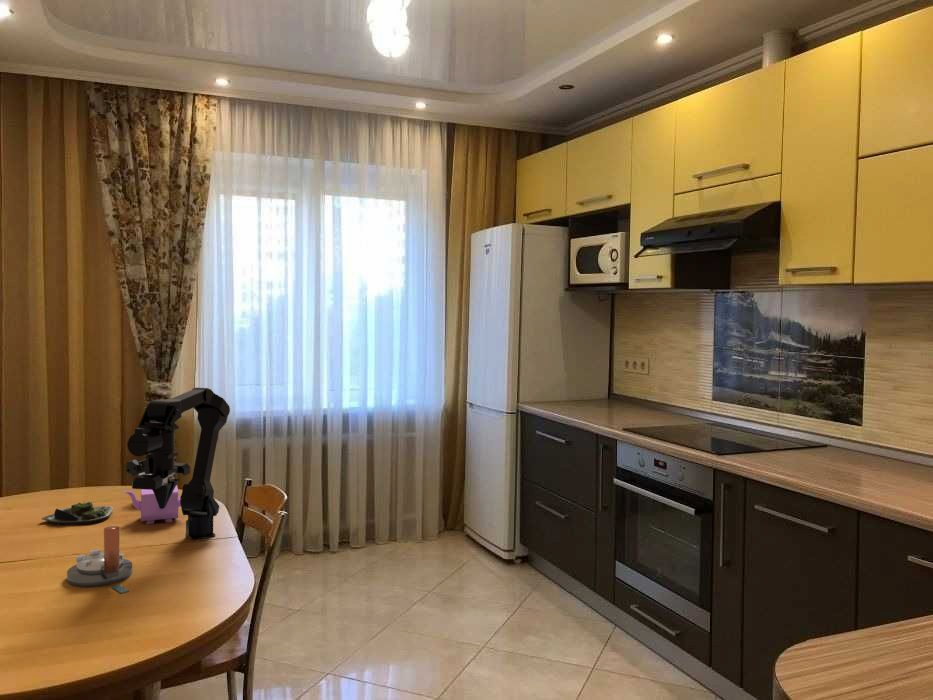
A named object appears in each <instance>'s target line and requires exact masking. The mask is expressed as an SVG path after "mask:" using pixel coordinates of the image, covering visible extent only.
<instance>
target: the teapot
mask: <svg viewBox="0 0 933 700" xmlns="http://www.w3.org/2000/svg"><path fill="white" fill-rule="evenodd" d="M123 493H125V494H127V495H128V496H129V497H130V499H131V502H132V504H133V506H134V508H135V509H136V510H138V511H140V521H141V522H146V523H145V524H146V525H153V524H154V523H155V521H157V520H164V521H165V523H172V522H174V520H173V519H178V518H179V508H181V505H180V497H179V489H178V485H176V487H175V489H174V490H173V492H172V494H171V496H170V498H169V500H168V502H167V505H166V507H165V508H163V509H160V508H159V505H158V503H157V500H156V497H155V494H154V492H153V490H147V489H140V500H139V499H138V498H137V496H136V494H135V493H134V492H133V491H131V490H125V491H123Z"/></svg>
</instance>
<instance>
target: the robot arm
mask: <svg viewBox="0 0 933 700" xmlns="http://www.w3.org/2000/svg"><path fill="white" fill-rule="evenodd" d="M191 409H194V410H195V412H197V422H198V424H199V426H200V434H199V439H198V445H197V450H196V456H195V460H194V467H193V471H192V475H191V479H190V480H189V481H188V483H184V484H182V485H183V486H182V489H181V495H180V497H179V498H180V505H181V506H180V508H181V512H182V516H187V519H186V520H185V535H186V536H187V537H188V538H190V539H191V540H192V541H197V540H201V539H206V538H213V537H216V533H214V517H216V516H217V515H218V514H219V511H220V510H219V509H220V504H219V503H218V502H217V501H216V499H215V498H214V495H215V494H214V492H215V490H214V488H213V485H212V483H211V475H212V472H213V466H214V459H215V455H216V450H217V449H216V448H217V445H218V444H217V443H218V439H219V438H218V437H219V432H220V431H221V430H222V428H223V427H224V426H225V425H226V424H227V422H228V421H227V420H228V419H229V415H230V411H231V408H230V405H229V404H228V403H227V401H226V400H225V399H224V398H223V397H221V396H220V395H219V394H216V393H215V392H214V391H213V390H212V389H211V388H209V387H194V388H192V389H191V390H189V391H186V392H184V393H182V394H179V395H176V396H175V397H172V398H164V399H163V398H161V399H153V400H151V401H149V402H148V403H147V406H146V408H145V410H144V411H143V415H142V416H141V419H140V421H139V423H138V426H137V428H134V433H133V434H132V435H130V437H129V438H128V441H127V442H126V443H127V444H126V445H127V446H126V447H127V449H128V451H129V453H130V454H131V455H132V456H134V457H142V456H145V459H143V460H139V461H138V460H137V459H132V460H129V461H126V465H125V473H127V474H128V475H130V476H131V478H133V477H134V478H133V479H132V480H131V489H133V490H135V489H136V490H141V489H147V490H153V492H154V494H155V497H156V500H157V503H158V505H159V508H160V509H163V508H165V507H166V505H167V502H168V500H169V498H170V496H171V494H172V492H173V490H174V489H175V487H176V485H177V484H178V483H179V482H180V478H179V479H178V478H175V476H174V475H176V474H181V475H182V476H188V475H190V474H191V466H190V465H189V464H188V462H187V463H185V462H175V457H177V456H178V455H179V454H178V452H179V451H175V435H176V434H175V432H176V431H175V430H179V428H180V426H179V425H178V424H176V422H177V421H179V419H181V418H182V414H183V413H185V412H187V411H189V410H191ZM143 472H145V474H142V475H140V476H139V474H140V473H143ZM146 474H152V475H146ZM136 475H138V476H136ZM135 476H136V477H135ZM177 486H178V485H177Z"/></svg>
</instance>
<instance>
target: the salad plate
mask: <svg viewBox="0 0 933 700" xmlns="http://www.w3.org/2000/svg"><path fill="white" fill-rule="evenodd" d="M113 510H114V508H113V507H112V506H109V505H100V506H99V505H97V506H95V505H94V504H93V502H91V501H88V502H86V501H83V502H78V503H75V504H71V505H70V507H66V508H60V509H59V508H56V509H55V510H54V513H53V514H50V515H46V516H44V517H41V520H42V521H45V522H48V523H50V524H51V525H53V526H65V525H69V526H86V525H93V524H98V523H102V522H104V521H106V520H107V519H108V518H109V517H110V516H111V514H112V513H113Z"/></svg>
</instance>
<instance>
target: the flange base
mask: <svg viewBox="0 0 933 700" xmlns="http://www.w3.org/2000/svg"><path fill="white" fill-rule="evenodd" d="M132 574H133V563H132V561H131V560H129V559H126V558H123V566H122V567H121V568H119V576H117V577H112V578H106V577H105V576H104V575H103V574H82V573H79V572H78V571H77V563H76V564H75V565H72V566H71V567H69V568H68V569H67V571H66V583H67V584H69V585H71V586H73V587H79V588H98V587H105V586H110V585H113V586H111V588H112V589H113V590H115V591H116V592H118V593H120V594H124V593H129V592H130V590H129V589H128V588H125V587H124V586H123V585H121V584H118V585H114V584H117V583H120V582H122V581H125V580H126V579H128V578H130V577H131V575H132Z"/></svg>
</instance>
